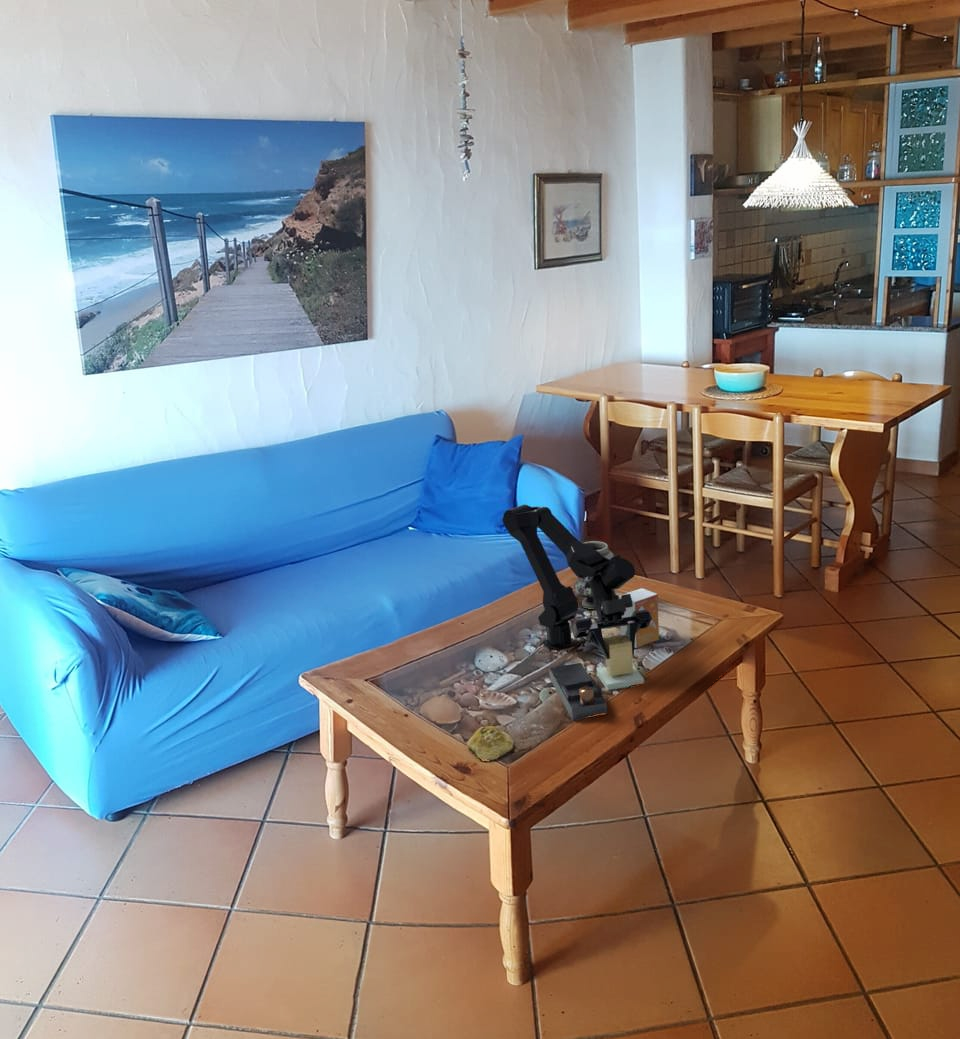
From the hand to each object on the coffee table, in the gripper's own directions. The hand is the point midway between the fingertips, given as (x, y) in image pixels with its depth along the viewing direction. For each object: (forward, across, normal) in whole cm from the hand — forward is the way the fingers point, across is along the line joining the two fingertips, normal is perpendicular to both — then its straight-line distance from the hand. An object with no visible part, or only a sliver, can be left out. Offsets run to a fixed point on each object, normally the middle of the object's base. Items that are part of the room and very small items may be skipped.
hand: (620, 656), depth 229 cm
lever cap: (+2, 0, +4) cm, 5 cm away
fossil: (+19, -36, -9) cm, 42 cm away
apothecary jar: (-31, +8, +40) cm, 51 cm away
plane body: (+7, -12, +2) cm, 14 cm away
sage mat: (+4, 0, +6) cm, 7 cm away
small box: (-10, +12, +20) cm, 25 cm away
